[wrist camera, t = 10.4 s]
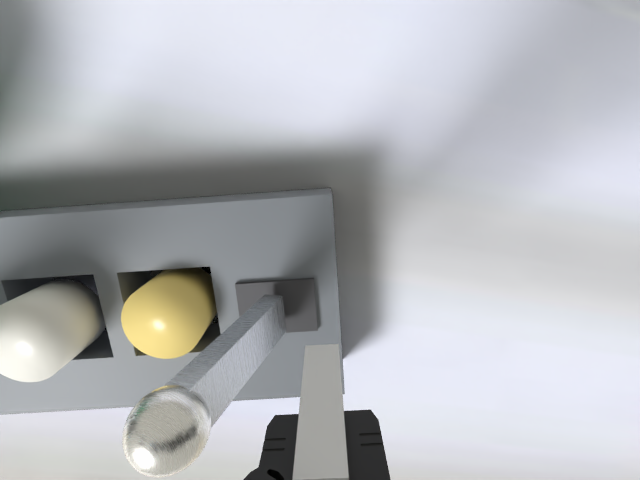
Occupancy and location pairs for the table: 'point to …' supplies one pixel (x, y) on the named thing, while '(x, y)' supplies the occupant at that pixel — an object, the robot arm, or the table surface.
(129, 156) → the table surface
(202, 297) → the button mustard
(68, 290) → the button ivory
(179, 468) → the lever
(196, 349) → the panel
